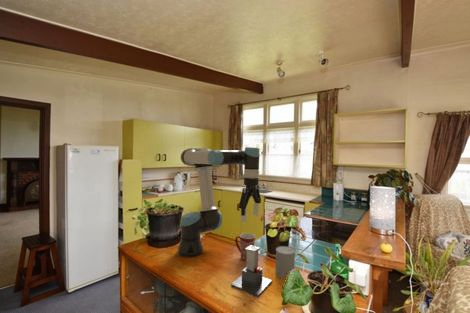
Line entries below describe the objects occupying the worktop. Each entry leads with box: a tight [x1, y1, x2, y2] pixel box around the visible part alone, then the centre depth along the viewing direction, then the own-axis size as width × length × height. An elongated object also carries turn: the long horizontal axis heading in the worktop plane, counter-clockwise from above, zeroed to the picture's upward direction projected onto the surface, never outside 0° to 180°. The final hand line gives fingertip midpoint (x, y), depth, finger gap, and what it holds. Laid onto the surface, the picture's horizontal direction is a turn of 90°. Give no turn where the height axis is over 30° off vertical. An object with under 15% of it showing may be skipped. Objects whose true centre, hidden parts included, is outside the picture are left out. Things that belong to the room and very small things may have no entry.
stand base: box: [230, 266, 273, 298], centre depth 109 cm, size 14×14×8 cm
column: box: [245, 245, 261, 273], centre depth 109 cm, size 5×5×16 cm
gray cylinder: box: [274, 245, 296, 280], centre depth 119 cm, size 10×10×12 cm
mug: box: [234, 232, 256, 262], centre depth 136 cm, size 13×9×14 cm
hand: (250, 218), depth 120 cm, fingers open, 13 cm apart
